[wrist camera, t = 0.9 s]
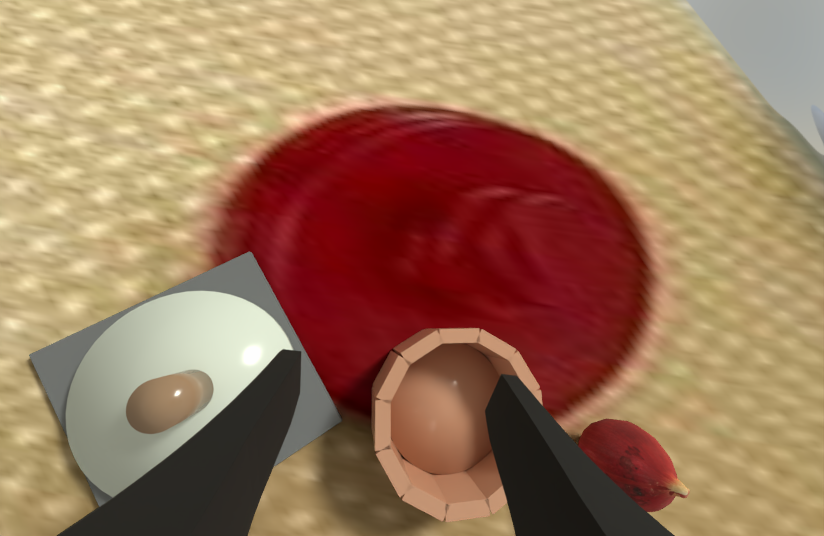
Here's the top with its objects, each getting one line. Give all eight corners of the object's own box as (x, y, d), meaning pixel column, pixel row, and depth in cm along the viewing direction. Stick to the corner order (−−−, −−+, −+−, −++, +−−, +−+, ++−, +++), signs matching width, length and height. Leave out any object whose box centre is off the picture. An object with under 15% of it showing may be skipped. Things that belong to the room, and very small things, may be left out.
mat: (132, 559, 19) (126, 565, 19) (36, 354, 20) (28, 354, 20) (342, 419, 23) (341, 420, 22) (251, 252, 24) (249, 251, 24)
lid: (132, 551, 19) (69, 615, 15) (40, 357, 20) (-43, 365, 16) (332, 418, 22) (327, 439, 18) (246, 259, 23) (222, 245, 19)
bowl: (420, 519, 23) (436, 564, 18) (343, 379, 24) (341, 391, 19) (536, 423, 26) (573, 443, 21) (464, 302, 27) (486, 298, 22)
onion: (568, 490, 25) (663, 563, 17) (548, 420, 26) (629, 459, 18) (623, 466, 26) (734, 524, 19) (602, 400, 27) (700, 429, 20)
